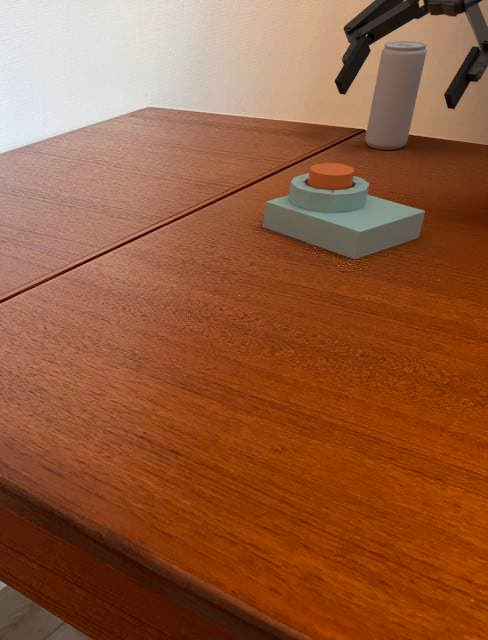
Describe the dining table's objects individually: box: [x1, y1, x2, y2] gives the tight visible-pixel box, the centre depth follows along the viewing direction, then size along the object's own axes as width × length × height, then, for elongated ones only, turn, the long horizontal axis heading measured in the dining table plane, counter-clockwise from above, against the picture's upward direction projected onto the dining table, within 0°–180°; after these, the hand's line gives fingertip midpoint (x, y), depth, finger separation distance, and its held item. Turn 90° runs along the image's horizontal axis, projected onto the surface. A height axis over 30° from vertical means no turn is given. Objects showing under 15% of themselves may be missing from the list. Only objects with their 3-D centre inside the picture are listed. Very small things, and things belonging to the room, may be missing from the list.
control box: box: [262, 172, 426, 260], centre depth 83 cm, size 11×9×4 cm
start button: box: [307, 162, 355, 190], centre depth 83 cm, size 4×4×2 cm
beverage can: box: [364, 40, 428, 151], centre depth 105 cm, size 5×5×12 cm
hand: (391, 95), depth 105 cm, fingers open, 13 cm apart
